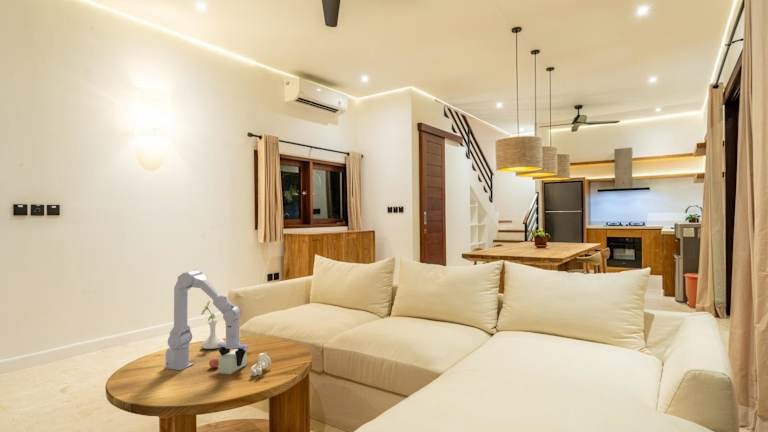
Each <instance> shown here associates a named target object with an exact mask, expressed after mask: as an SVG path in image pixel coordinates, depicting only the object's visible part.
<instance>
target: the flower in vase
mask: <svg viewBox="0 0 768 432" xmlns="http://www.w3.org/2000/svg"><path fill="white" fill-rule="evenodd" d="M210 304H211V300H208V301H207V302H206V305H205V306H204V309H202V311H201V313H200V315H201V316H202V315H204V314H205V312H206V311H207V310H208V312H209V314H210V315H209V317H208V320H207V324H208V325H209V328H210V334H209V336H208V337H206V339H205V340H204V341H202V343H201V345H200V347H201V348H202V349H204V350H213V349H219V348H218V343H220V342H222V343H225V342H226V341H225V340H224V339H222V338H221V337H219V336H217V334H216V325H217V323H218V321H219V320H218V319H215V318H216V315H215V313H214V312H213V313H212V312H211V311H210V309H209V305H210Z"/></svg>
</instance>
